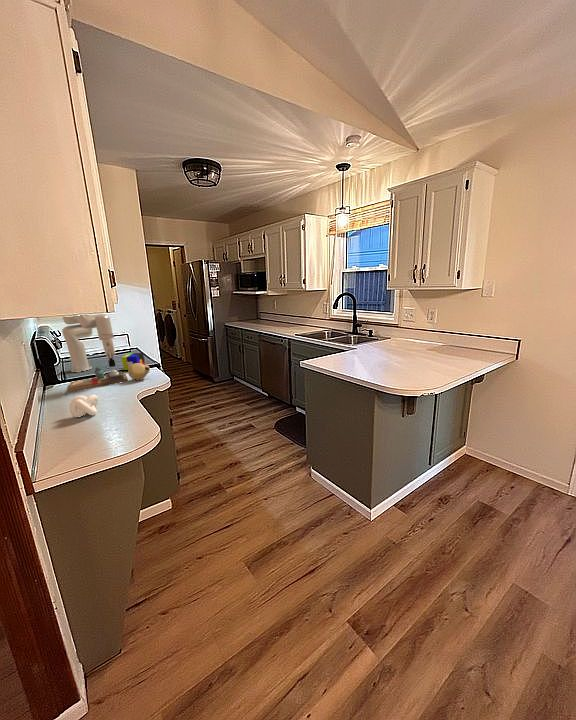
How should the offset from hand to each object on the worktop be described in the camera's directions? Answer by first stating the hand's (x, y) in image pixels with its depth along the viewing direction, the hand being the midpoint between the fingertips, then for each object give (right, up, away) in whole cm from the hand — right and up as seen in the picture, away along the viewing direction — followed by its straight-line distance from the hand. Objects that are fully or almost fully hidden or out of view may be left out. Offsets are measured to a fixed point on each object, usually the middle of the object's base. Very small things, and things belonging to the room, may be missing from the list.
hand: (112, 366), depth 193 cm
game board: (-9, -10, +2) cm, 14 cm away
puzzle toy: (0, -3, +28) cm, 28 cm away
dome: (0, -6, +2) cm, 7 cm away
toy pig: (+15, -8, +4) cm, 18 cm away
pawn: (-10, -8, +5) cm, 14 cm away
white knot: (+11, -22, -43) cm, 50 cm away
